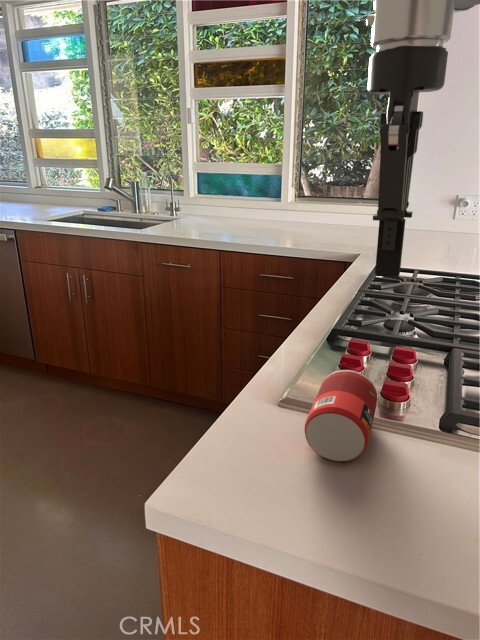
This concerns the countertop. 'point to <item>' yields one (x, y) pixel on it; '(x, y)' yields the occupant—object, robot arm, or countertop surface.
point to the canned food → (342, 416)
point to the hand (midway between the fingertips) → (387, 273)
